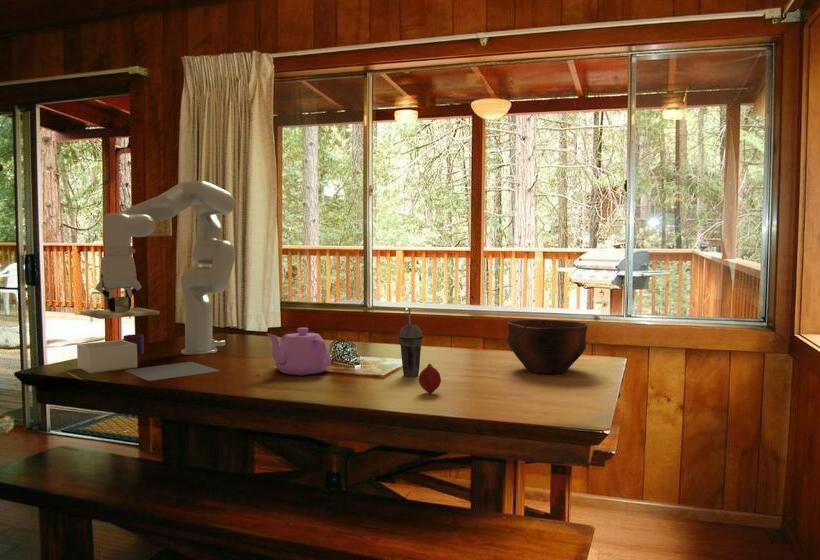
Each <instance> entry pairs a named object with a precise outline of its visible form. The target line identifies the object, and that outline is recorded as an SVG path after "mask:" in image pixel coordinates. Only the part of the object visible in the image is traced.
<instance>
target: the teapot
mask: <svg viewBox="0 0 820 560" xmlns="http://www.w3.org/2000/svg"><path fill="white" fill-rule="evenodd" d="M296 331H297V332H295V333H286V334H284V335H283V336H282V337H281V338H282V339H281V343H280V341H279V338H278V336H277V335H274V334H271V333H266V335H267V336H268V337H269V338H270V340H271V344H272V345H271V355H272V358H273V361H274V363H275V364H274V365H275V367H276V368H277V369H278V371H280V373H283V374H286V375H296V376H300V377H305V376H306V375H315V374H319V373H323V372H325V371H327V369H328V368H329V367H330V366H331V364H332V355H331V352H330V349H329V348H328V345H327V343H326V342H325V341H324V339H323V337H322V336H321V335H320V334H319V333H314V332H308V331H309V328H308V327H298V328H297V329H296Z"/></svg>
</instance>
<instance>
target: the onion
mask: <svg viewBox="0 0 820 560" xmlns="http://www.w3.org/2000/svg"><path fill="white" fill-rule="evenodd" d="M418 383H419V386H420V387H421V389H423V390H424V391H425V392H426V393H427V394H433V393H434V392H435V391H436V390H437V389H438V388H439V387H440V385H441V383H442V378H441V374H440V372H439V371H438V369H436V367H434V366H433V364H432V363H428V364H427V366H426V367H425V368H423V369H422V371H421V372H419V376H418Z"/></svg>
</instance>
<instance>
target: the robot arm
mask: <svg viewBox="0 0 820 560" xmlns="http://www.w3.org/2000/svg"><path fill="white" fill-rule="evenodd" d="M235 206H236V203H235V198H234V197H233V195H232V194H231V192H229V191H227V190H225V189H223V188H221V187H219V186H217V185H215V184H213V183H211V182H209V181H207V180H190V181H189V180H188V181H182V182H179V183H177V184H176V185H174V186H172V187H171V188H170V189H169V188H168V190H166V191H164V192H162V193H161V194H158V196H155V197H152V198H149V199H147V200H145V201H143V202H139V203H137V204H134V205H132V206H130V207H128V208H126V209H125V210H122V211H121V212H120V213H119V212H118V213H116V212H115V213H114V212H113V213H112V212H111V213H106V214H105V215H104V217H103V233H104V257H103V256H102V258H101V261H100V262H101V263H100V270H99V282H98V283H97V284H96V286H95V288H94V289H95V290H96V291H97V292H99V293H100V294H102V295H103V296H104V297H105V298H106V299H107V310H110V311H115V299H114V298H113V297H114V292H115V290H116V289H123V290H124V297H128V304H129V310H130V308H132V297H134V294H136V293H137V291H139V290H140V289H142V288H143V285H141V283H140V282H139V280H138V279H137V278H138V277H137V270H136V269H137V268H136V264H135V259H134V257H133V256H132V255H133V254H136V249H135V248H133V247H132V245H131V244H132V243H131V242H132V241H131V238H144V237H148V236H150V235H152V234H153V233H154V231H155V229H156V222H162V221H165V220H169V219H172V218H174V217H176V216H177V215H178V214H180V213H181V212H183V211H184V210H187V209H188V208H189V207H192V210H193V212H194V214H195V215H196V217H197V220H198V223H199V224H198V226H199V228H198V233H197V237H196V240H195V243H194V246H193V247H194V248H193V250H192V260H193V261H194V263H196V264H198V265H201V266H195V267H189V268H186V269H185V270H184V271H183V273H182V274H181V277H180V284H181V289H182V293H183V299H184V300H183V302H184V330H185V331H184V332H185V336H184V337H185V348H183V349H181V353H180V354H181V355H183V356H184V355H185V356H195V355H196V356H197V355H204V354H215V353H217V352H218V348H217V347H221V346H225V345H226V340H225V339H223V340H216V339H214V337H213V307H212V305H213V304H212V301H211V298H210V295H209V294H211V295H212V294H221V293H223V292H224V291H225V290H226V289H227V287H228V285H229V282H230V278H231V274H232V270H233V266H234V264H235V258H236V251H235V247H234V245H233V243H232V242H230V241H229V240H226V239H222V236H223V231H224V230H223V226H222V223H221V221H220V219H219V217H218V216H221V215H222V216H223V215H224V216H225V215H228V214H230V213H232V212H233V210H234V209H235ZM208 266H210V267H208Z"/></svg>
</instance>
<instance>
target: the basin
mask: <svg viewBox="0 0 820 560" xmlns="http://www.w3.org/2000/svg"><path fill="white" fill-rule="evenodd" d="M76 351H77V352H76V353H77V369H78V370H79V369H81V370H82V371H84V372H87V373H89V374H96V373H103V372H104V373H105V372H111V371H112V372H113V371H121V370H129V369H137V368H138V355H137V344H134V343H131V342H128V341H124V340H122V339H119V340H109V341H108V340H107V341H97V342H87V343H86V342H85V343H77V344H76Z"/></svg>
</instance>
